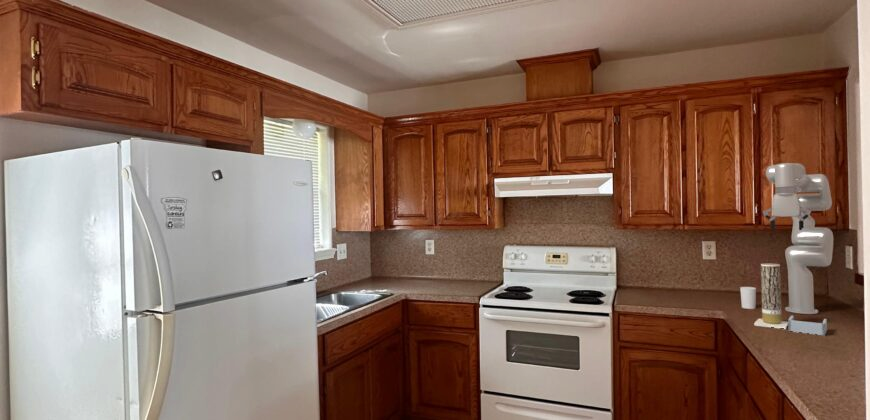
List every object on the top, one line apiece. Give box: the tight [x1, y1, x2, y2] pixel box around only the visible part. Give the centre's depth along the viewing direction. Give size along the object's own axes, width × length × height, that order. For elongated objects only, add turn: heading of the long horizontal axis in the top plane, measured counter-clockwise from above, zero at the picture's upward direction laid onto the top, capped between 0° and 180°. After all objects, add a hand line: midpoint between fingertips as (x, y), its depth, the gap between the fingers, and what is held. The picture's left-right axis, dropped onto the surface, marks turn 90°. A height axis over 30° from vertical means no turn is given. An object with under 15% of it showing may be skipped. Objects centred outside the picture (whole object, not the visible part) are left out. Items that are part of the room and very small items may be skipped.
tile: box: [753, 318, 788, 330], centre depth 206 cm, size 11×11×1 cm
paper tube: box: [760, 262, 783, 324], centre depth 206 cm, size 7×7×25 cm
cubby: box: [787, 315, 828, 336], centre depth 195 cm, size 11×12×4 cm
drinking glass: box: [739, 286, 757, 310], centre depth 241 cm, size 7×7×10 cm
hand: (786, 229), depth 211 cm, fingers open, 9 cm apart
